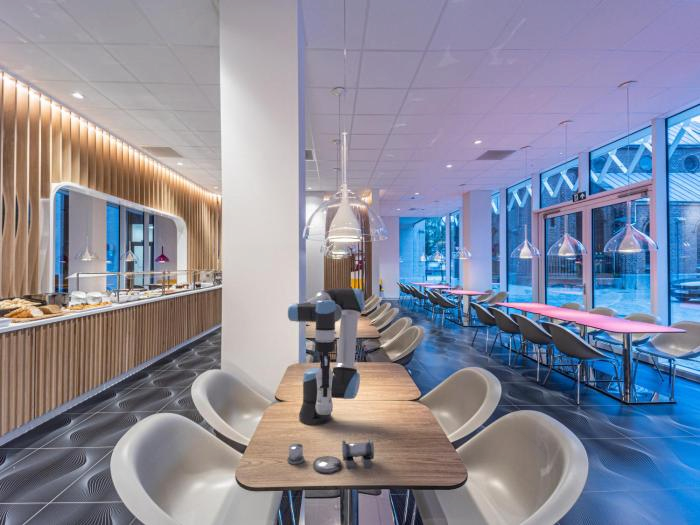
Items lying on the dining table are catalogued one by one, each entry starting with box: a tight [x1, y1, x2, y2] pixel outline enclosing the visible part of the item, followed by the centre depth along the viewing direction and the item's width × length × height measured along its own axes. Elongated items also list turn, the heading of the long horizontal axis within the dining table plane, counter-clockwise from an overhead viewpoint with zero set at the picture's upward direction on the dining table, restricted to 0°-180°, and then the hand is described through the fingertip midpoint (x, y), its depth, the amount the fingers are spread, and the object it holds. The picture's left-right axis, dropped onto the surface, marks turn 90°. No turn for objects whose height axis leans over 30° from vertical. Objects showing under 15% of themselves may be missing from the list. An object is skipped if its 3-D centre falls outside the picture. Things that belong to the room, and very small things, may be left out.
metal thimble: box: [286, 443, 305, 466], centre depth 132 cm, size 6×6×5 cm
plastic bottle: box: [316, 361, 334, 415], centre depth 138 cm, size 6×7×20 cm
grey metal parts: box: [312, 438, 375, 475], centre depth 129 cm, size 21×10×8 cm, turn 98°
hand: (324, 402), depth 137 cm, fingers closed on plastic bottle, 6 cm apart
